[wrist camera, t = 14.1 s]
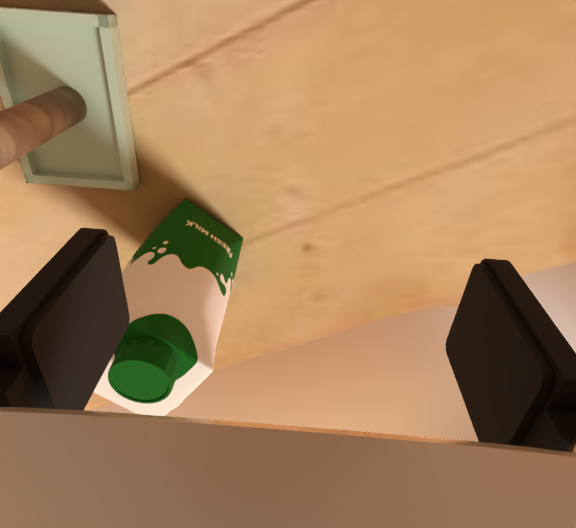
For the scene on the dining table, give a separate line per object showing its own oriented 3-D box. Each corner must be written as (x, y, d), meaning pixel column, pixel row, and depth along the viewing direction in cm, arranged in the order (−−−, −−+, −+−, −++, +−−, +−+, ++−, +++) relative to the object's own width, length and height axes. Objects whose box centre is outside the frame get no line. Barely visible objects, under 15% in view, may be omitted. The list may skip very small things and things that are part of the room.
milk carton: (255, 237, 43) (220, 396, 26) (207, 290, 47) (149, 458, 31) (182, 184, 40) (90, 325, 24) (137, 246, 44) (32, 403, 28)
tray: (-13, 5, 33) (-26, 5, 32) (116, 14, 33) (107, 15, 31) (35, 176, 41) (26, 182, 39) (139, 184, 41) (134, 190, 39)
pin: (46, 85, 35) (-57, 124, 25) (82, 87, 35) (-7, 128, 25) (55, 121, 37) (-38, 172, 27) (90, 124, 37) (8, 175, 27)
